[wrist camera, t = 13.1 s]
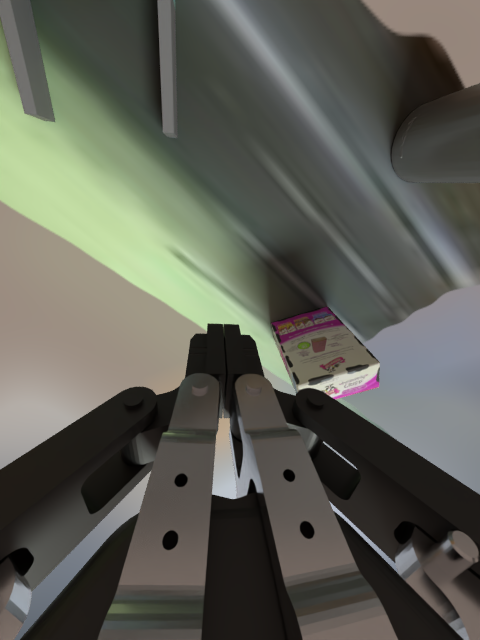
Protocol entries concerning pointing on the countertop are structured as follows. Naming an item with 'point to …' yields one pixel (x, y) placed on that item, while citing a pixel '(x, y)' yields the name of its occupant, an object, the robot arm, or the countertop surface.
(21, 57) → the chute
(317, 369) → the candy bar box
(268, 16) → the countertop surface
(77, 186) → the countertop surface
